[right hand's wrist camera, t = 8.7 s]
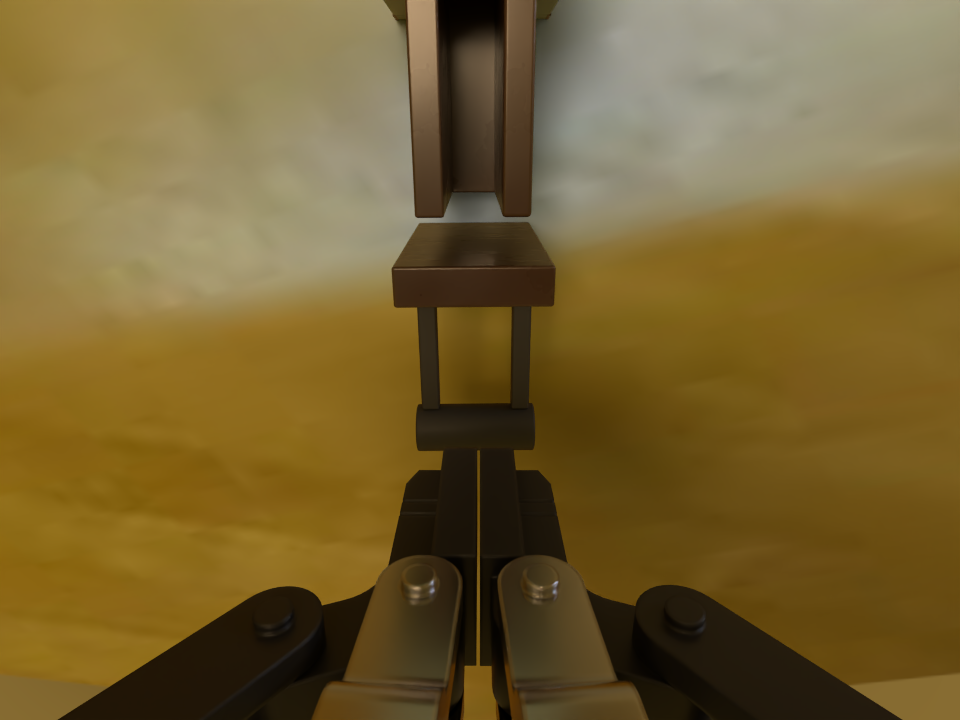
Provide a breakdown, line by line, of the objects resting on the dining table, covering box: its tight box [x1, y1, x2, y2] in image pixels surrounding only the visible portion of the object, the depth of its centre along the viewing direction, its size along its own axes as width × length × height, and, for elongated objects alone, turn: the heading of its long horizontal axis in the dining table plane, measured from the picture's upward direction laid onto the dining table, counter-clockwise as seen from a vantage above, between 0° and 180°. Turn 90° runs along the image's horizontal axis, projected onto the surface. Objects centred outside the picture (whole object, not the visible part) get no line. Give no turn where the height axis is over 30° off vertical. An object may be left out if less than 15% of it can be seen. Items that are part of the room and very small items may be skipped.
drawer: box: [392, 0, 556, 451], centre depth 18 cm, size 26×5×8 cm, turn 0°
